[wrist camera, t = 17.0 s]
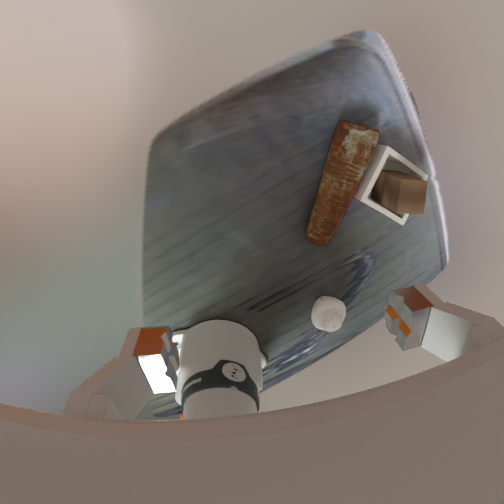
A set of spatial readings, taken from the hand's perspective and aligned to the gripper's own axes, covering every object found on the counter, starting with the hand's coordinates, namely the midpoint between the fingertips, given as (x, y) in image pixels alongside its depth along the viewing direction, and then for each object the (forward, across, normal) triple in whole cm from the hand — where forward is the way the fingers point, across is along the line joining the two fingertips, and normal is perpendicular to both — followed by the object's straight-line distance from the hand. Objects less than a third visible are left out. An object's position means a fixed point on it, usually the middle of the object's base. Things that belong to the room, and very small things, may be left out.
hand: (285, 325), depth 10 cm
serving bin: (+33, -22, +3) cm, 40 cm away
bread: (+34, -14, +3) cm, 37 cm away
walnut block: (+32, -22, +3) cm, 39 cm away
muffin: (+34, -12, +24) cm, 43 cm away
